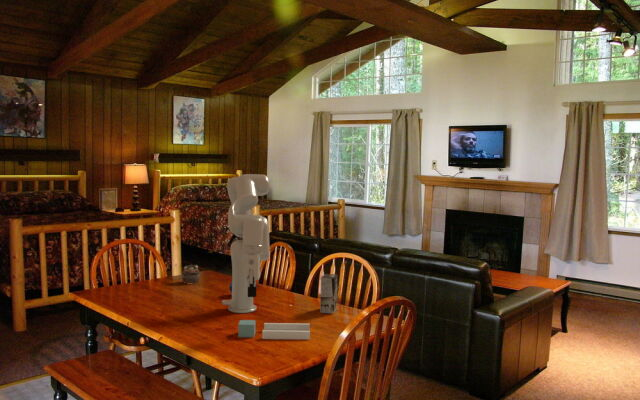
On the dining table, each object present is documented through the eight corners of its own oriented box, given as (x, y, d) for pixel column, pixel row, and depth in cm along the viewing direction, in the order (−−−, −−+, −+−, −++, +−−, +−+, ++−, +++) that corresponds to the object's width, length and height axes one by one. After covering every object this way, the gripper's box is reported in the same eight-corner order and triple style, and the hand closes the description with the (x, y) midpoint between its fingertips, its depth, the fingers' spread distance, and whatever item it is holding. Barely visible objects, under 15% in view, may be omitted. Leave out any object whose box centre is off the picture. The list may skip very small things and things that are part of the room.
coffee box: (333, 314, 241) (334, 278, 240) (319, 312, 242) (320, 277, 241) (337, 308, 250) (338, 274, 249) (323, 307, 251) (324, 273, 250)
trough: (262, 338, 205) (262, 331, 205) (264, 330, 215) (264, 323, 215) (309, 339, 206) (310, 331, 205) (309, 330, 216) (309, 323, 216)
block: (238, 337, 207) (238, 324, 206) (239, 332, 213) (240, 320, 212) (254, 337, 207) (254, 324, 206) (255, 332, 213) (255, 320, 212)
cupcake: (202, 281, 299) (202, 263, 298) (194, 285, 290) (194, 266, 289) (186, 280, 301) (186, 262, 301) (178, 284, 292) (178, 265, 291)
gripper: (261, 252, 200) (260, 301, 202) (263, 246, 215) (263, 291, 217) (240, 252, 200) (240, 301, 201) (244, 246, 215) (244, 291, 216)
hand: (252, 296), depth 209 cm, fingers closed
